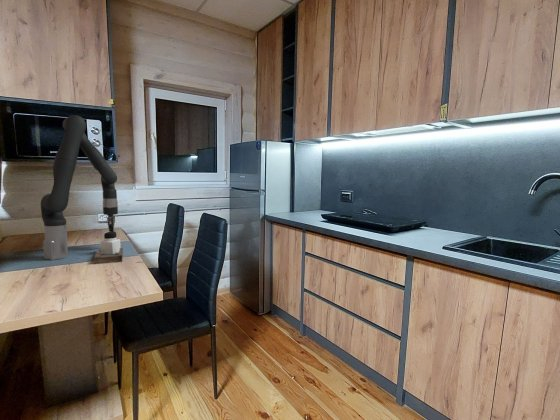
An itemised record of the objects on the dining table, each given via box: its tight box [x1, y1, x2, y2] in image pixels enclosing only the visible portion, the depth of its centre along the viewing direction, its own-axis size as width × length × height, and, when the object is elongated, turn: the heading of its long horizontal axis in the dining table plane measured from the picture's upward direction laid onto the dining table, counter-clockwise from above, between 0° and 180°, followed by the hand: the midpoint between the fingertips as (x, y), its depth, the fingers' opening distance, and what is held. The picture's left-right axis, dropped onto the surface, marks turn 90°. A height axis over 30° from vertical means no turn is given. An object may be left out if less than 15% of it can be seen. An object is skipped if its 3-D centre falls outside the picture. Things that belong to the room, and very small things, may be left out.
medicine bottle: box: [99, 230, 121, 255], centre depth 166 cm, size 7×7×12 cm
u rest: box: [93, 247, 124, 265], centre depth 156 cm, size 18×12×3 cm, turn 26°
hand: (111, 235), depth 175 cm, fingers closed
